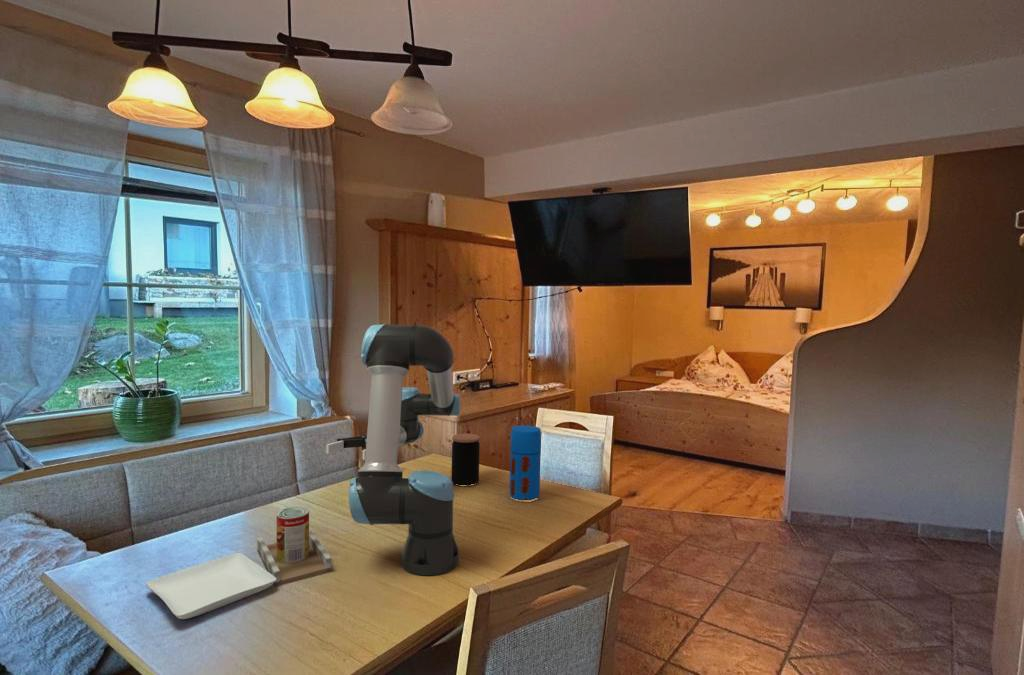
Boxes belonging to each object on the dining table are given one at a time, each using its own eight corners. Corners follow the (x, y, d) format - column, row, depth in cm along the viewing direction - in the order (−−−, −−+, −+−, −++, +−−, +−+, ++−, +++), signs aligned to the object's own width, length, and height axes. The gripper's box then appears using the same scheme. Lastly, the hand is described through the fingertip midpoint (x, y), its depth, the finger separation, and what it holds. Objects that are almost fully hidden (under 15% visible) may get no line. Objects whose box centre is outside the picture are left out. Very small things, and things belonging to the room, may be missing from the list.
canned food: (303, 547, 144) (303, 504, 143) (313, 558, 138) (313, 513, 137) (272, 555, 139) (272, 510, 138) (281, 567, 133) (281, 520, 132)
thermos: (539, 503, 183) (541, 432, 182) (509, 502, 183) (510, 431, 182) (538, 492, 194) (540, 425, 193) (509, 491, 194) (511, 425, 193)
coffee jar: (480, 479, 208) (481, 434, 207) (476, 488, 197) (477, 440, 196) (454, 477, 209) (455, 433, 208) (448, 486, 198) (449, 439, 197)
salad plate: (239, 562, 137) (239, 549, 137) (278, 591, 124) (278, 577, 124) (143, 595, 121) (143, 581, 121) (177, 633, 107) (177, 616, 107)
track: (331, 571, 133) (331, 557, 133) (274, 586, 125) (274, 572, 125) (308, 539, 151) (308, 527, 151) (257, 550, 143) (257, 538, 143)
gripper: (421, 453, 169) (379, 470, 150) (359, 444, 179) (312, 459, 160) (421, 430, 169) (379, 444, 150) (359, 423, 179) (313, 434, 160)
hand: (345, 452), depth 155 cm, fingers open, 13 cm apart
